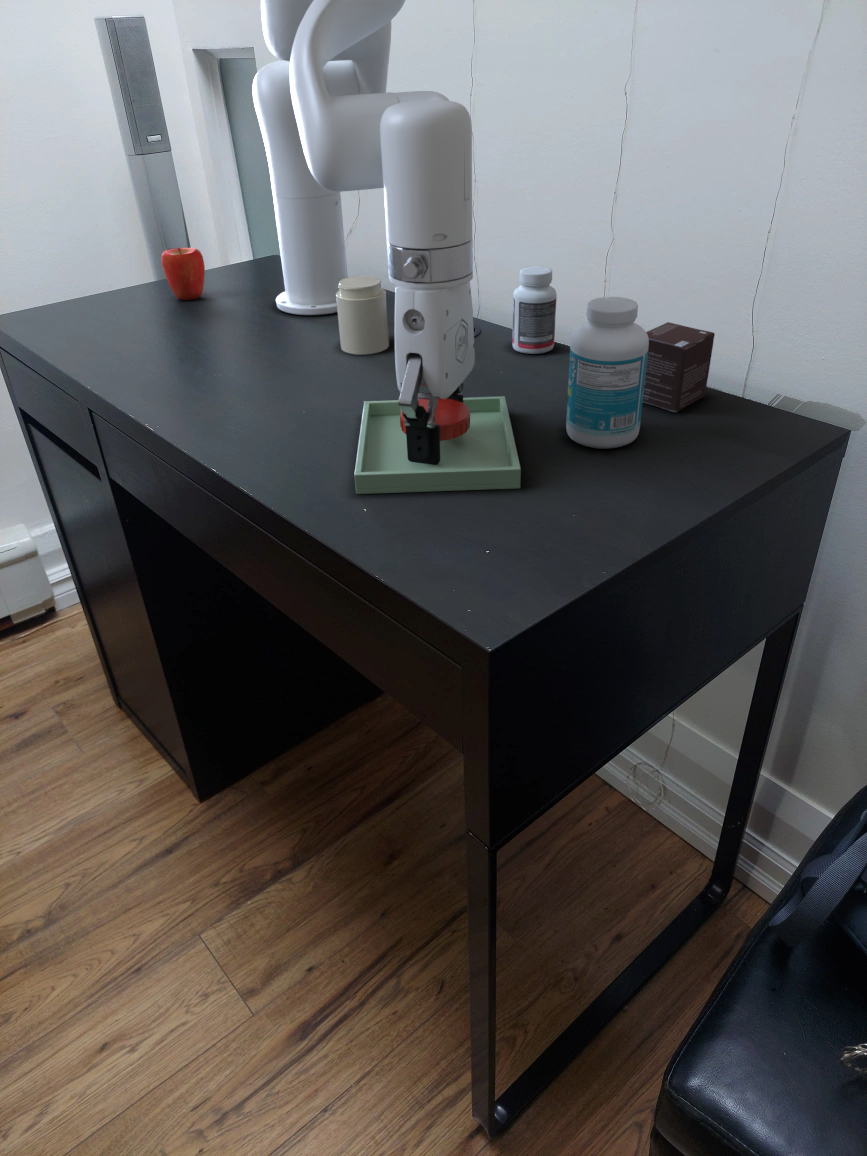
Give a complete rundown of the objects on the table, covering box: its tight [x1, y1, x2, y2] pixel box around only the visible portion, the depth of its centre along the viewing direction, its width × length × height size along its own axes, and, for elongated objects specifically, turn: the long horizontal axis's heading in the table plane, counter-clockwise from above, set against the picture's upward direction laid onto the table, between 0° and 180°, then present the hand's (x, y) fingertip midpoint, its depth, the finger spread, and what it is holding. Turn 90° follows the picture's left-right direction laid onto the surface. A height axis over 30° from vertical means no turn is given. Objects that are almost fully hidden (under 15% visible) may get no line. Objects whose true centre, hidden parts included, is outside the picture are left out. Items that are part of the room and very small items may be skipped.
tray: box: [353, 395, 522, 495], centre depth 84 cm, size 17×15×2 cm
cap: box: [400, 398, 470, 441], centre depth 83 cm, size 7×7×2 cm
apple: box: [161, 247, 206, 301], centre depth 131 cm, size 6×6×8 cm
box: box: [642, 321, 716, 413], centre depth 92 cm, size 6×6×7 cm
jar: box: [336, 275, 390, 356], centre depth 109 cm, size 6×6×8 cm
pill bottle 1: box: [511, 265, 558, 355], centre depth 106 cm, size 5×5×10 cm
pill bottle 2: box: [565, 296, 649, 450], centre depth 83 cm, size 8×7×14 cm
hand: (436, 444), depth 85 cm, fingers closed on cap, 6 cm apart
